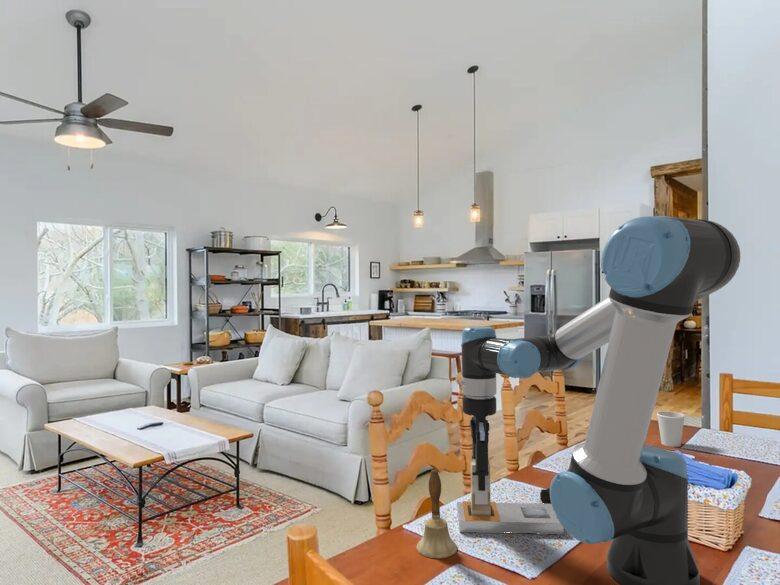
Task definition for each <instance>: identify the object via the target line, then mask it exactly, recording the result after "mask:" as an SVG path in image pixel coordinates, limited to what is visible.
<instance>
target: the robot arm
mask: <svg viewBox="0 0 780 585" xmlns="http://www.w3.org/2000/svg"><path fill="white" fill-rule="evenodd" d="M600 261H601V262H600V263H601V264H600V265H601V273H603V274H604V280H605V282H606V284H607V285H608V286H609V287H610V291H609V293H608V296H607V297H605V298H604V299H602V300H601V301H598V302H597V303H596V304H594V305H592V307H589V308H588V309H587V310H585V311H583V312H582V313H580V314H579V315H577V316H576V317H574V318H573V319H571V320H570V321H569V322H567V323H565V324H564V325H562V326H561V327H559V328H558V329H556V330H554V331H553V332H551V333H550V334H548V335H545V336H534V337H521V338H503V337H502V338H500V337H499V338H498V337H497V334H496V329H495V327H493V326H482V325H481V326H478V325H477V326H476V325H475V326H467V327H464V328H463V329H462V332H461V344H460V347H461V373H462V375H461V376H462V378H461V379H462V380H459V385H461V386H462V394H463V396H462V402H461V403H462V412H463V413H464V414H465V415H467V416H472V417H471V419H470V420H469V423H470V424H469V425H470V429H471V430H470V431H471V432H470V435H471V440H472V442H471V444H472V445H471V446H472V447H471V448H472V449H471V450H472V455H471V459H475V464H476V471H475V472H472V475H475V504H488V477H487V476H488V474H489V472H488V461H489V435H490V433H489V432H490V423H489V420H488V419H487V417H488V416H490V417H491V416H494V415H495V414H496V413H497V397H496V395H497V374H498V375H503V376H507V377H510V378H513V379H528V378H531V377H532V376H534V374H537V373H542V372H552V371H566V370H569V369H572V368H576V367H577V366H578V365H579V364H580V362H581V361H582V359H583V358H584V357H585V356H587V355H589V354H591V353H592V352H594V351H597V350H598V349H600V348H602V347H603V346H605V345H606V344H607V348H606V352H605V357H604V362H603V365H602V368H601V369H602V370H601V374H600V378H599V382H598V386H597V389H596V394H595V398H594V403H593V407H592V411H591V416H590V420H589V423H588V424H589V425H588V428H587V431H586V432H587V433H586V437H585V441H584V442H582V443H579V444H577V445H575V446H574V448H573V450H572V455H571V457H570V462H569V466H568V469H567V470H563V471H560V472H559V473H557V474H556V475H555V476H554V477H553V478H552V479H551V481H550V486H549V488H550V500H551V504H552V507H553V510H554V512H555V513H556V516H557V518H558V520H559V522H560V523H561V525H562V526H563V527H564V530H565V531H566V532H567V533H568V535H570V536H571V537H572V538H573V539H575V540H577V541H578V542H580V543H583V544H587V545H596V544H600V543H608V542H610V545H609V547H608V549H607V553H606V568H607V569H606V570H607V572H608V573H609V575H610V577H612V578H613V580H615V581H616V582H617V583H619V584H620V585H701V582H700V581H701V580H700V579H701V574H700V570H699V567H698V564H697V563H698V562H697V560H696V558H695V556H694V553H693V549H692V547H691V544H690V541H689V521H688V520H689V516H688V515H689V508H688V506H689V504H688V502H689V501H688V500H689V498H688V497H689V496H688V494H689V493H688V492H689V489H688V488H689V486H688V485H689V480H690V479H689V476H688V466H687V461H686V459H684V457H682V456H681V455H680V454H678V453H676V452H674V451H671V450H668V449H666V448H661V447H656V446H651V445H646V444H645V442H646V438H647V436H648V432H649V427H650V424H651V421H652V417H653V413H654V409H655V405H656V402H657V398H658V394H659V390H660V387H661V384H662V380H663V376H664V372H665V368H666V365H667V361H668V357H669V353H670V350H671V346H672V343H673V338H674V336H675V335H674V334H675V331H676V328H677V324H678V323H679V322H681V321H683V320H685V319H687V318H689V317H691V316H692V313H693V309H694V307H695V306H694V305H695V304H696V303H697V302H698V301H699V300H702V299H703V298H706V297H708V296H709V295H711V294H713V293H715V292H717V291H719V290H720V289H722V288H723V287H725V286H727V285H728V284H729V283H730V282H731V280H733V278H734V277H735V276H736V274H737V271H738V269H739V266H740V265H741V264H740V262H741V249H740V245H739V243H738V241H737V239H736V237H735V236H734V235H733V233H732V232H731V231H730V230H729V229H728V228H727V227H725V226H723V225H721V224H719V223H717V222H715V221H712V220H707V219H700V218H699V219H698V218H695V219H693V218H685V217H684V218H683V217H675V216H674V217H673V216H668V215H656V214H655V215H652V216H648V215H647V216H639V217H635V218H633V219H629V220H628V221H626V222H625V223H623V224H622V225H620V226H619V227H618V228H616V229H615V230H614V231H613V232H612V233H611V235H610V236H609V238H608V239H607V241H606V243H605V245H604V247H603V250H602V254H601V260H600Z"/></svg>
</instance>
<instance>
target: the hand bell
mask: <svg viewBox="0 0 780 585" xmlns="http://www.w3.org/2000/svg"><path fill="white" fill-rule="evenodd" d="M441 481H442V480H441V478H440V474H439V471H438V469H436V468H434V469H431V471H430V475H429V479H428V494H429V495H430V496H429V497H430V498H431V499H430V500H431V518H428V519H426V521H425V524H424V525H425V526H424V531H423V536H422V537H421V539H419V541H418V542H417V544H416V547H415V548H416V551H417V553H419V554H420V555H421V556H424V557H425V558H430V559H447V558H450V557H451V556H454V555H455V554H456V553H457V552H458V545H457V544H456V542H455V541H454V540H453V539H452V538H451V535H450V533H449V532H450V531H449V527H448V522H447V520H446V519H444V518H441V510H440V509H441V508H440V498H441V494H442V493H441V492H442V482H441Z"/></svg>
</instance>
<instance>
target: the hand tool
mask: <svg viewBox="0 0 780 585" xmlns="http://www.w3.org/2000/svg"><path fill="white" fill-rule="evenodd" d="M539 500H540V502H541V504H543V503H544V504H551V500H550V487H548V488H546V489H541V490H540V492H539Z"/></svg>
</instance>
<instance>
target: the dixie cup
mask: <svg viewBox="0 0 780 585" xmlns="http://www.w3.org/2000/svg"><path fill="white" fill-rule="evenodd" d="M656 416H657V422H658V429H659V435H660V443H661V445H663V446H666V447H672V448H678V447H681V444H682V438H683V430H684V425H685V424H684V423H685V418H686V415H685V414H684V413H681V412H677V411H669V410H664V411H663V410H662V411H657V412H656Z"/></svg>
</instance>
